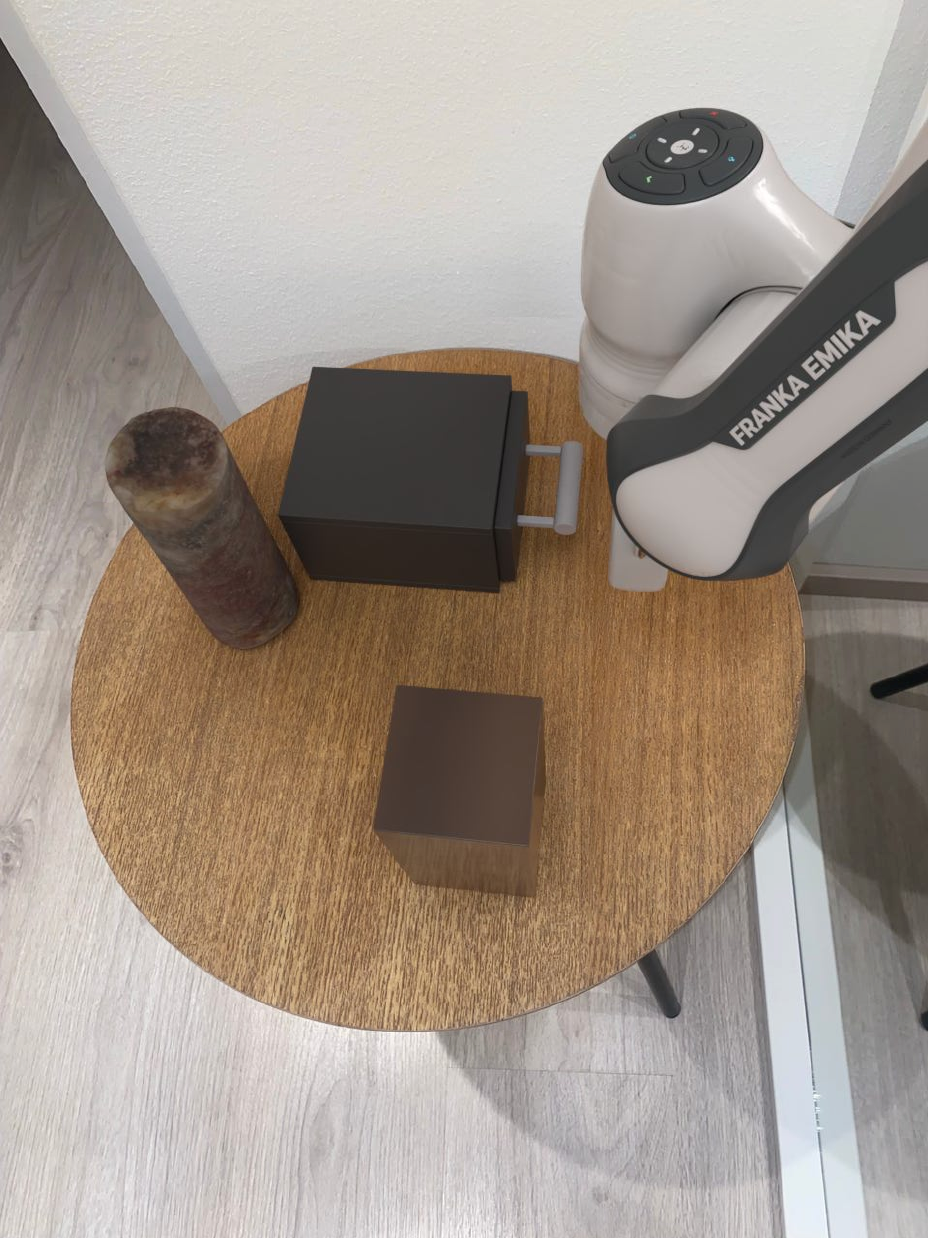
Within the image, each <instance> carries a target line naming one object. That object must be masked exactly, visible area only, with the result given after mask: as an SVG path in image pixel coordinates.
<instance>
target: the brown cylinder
mask: <svg viewBox="0 0 928 1238" xmlns="http://www.w3.org/2000/svg"><path fill="white" fill-rule="evenodd" d="M106 451H107V452H106V454H105V460H104V469H105V470H104V472H105V476H106V481H107V484H108V487H109V489H110V490H111V492H112V494H113V495H114V497H115V498H116V500H117V501H118V502H119V503H120V505H121V507H122V509H123V510H124V512H125V513H126V515H127V516H128V518H129V519H130V520H131V522H132V523H133V524H134V526H135V527H136V528H137V530H138V532H139V533H140V534H141V535H142V537H143V538H144V540H145V541H146V543H147V544H148V546H149V547H150V548H151V550H152V551H153V553H154V554H155V556H156V557H157V558H158V560H159V561H160V563H161V564H162V565H163V567H164V568H165V569H166V571H167V572H168V574H169V575H170V577H171V578H172V580H173V581H174V582H175V584H176V585H177V587H178V589H179V590H180V591H181V593H182V594H183V596H184V597H185V599H186V601H187V602H188V603H189V604H190V606H191V607H192V609H193V610H194V612H195V614H196V615H197V616H198V618H199V619H200V621H201V622H202V624H203V625H204V626H205V627H206V629H207V630H208V631H209V633H210V634H211V636H213V637H214V638H215V639H216V640H217V641H218V642H220V643H222V644H223V645H225V646H227V647H230V648H232V649H242V650H249V649H253V648H254V647H259V646H262V645H264V644H266V643H268V641H270V640H271V639H272V638H274V637H276V636H277V635H279V634H280V633H281V632H282V631H284V630H285V629H286V628H287V627H288V626H289V625H290V624H291V623H292V621H293V620H294V618H295V616H296V615H297V610H298V607H299V591H298V586H297V583H296V580H295V578H294V576H293V574H292V572H291V570H290V568H289V566H288V563H287V561H286V559H285V557H284V554H283V553H282V551H281V549H280V548H279V545H278V543H277V542H276V540H275V538H274V536H273V534H272V532H271V530H270V528H269V526H268V524H267V522H266V520H265V518H264V517H263V514H262V512H261V510H260V508H259V505H258V504H257V502H256V500H255V498H254V495H253V494H252V492H251V490H250V488H249V486H248V483H247V481H246V480H245V478H244V476H243V474H242V472H241V470H240V468H239V465H238V463H237V461H236V459H235V458H234V455H233V453H232V451H231V449H230V446H229V445H228V442H227V441H226V439H225V437H224V435H223V434H222V432H221V430H220V429H219V428H218V426H217V425H216V423H214V422H213V421H212V420H210V419H209V418H207V417H206V416H203V415H201V414H200V413H198V412H196V411H194V410H191V409H189V408H184V407H180V406H169V407H164V408H156V409H152V410H149V411H145V412H142V413H140V414H137V415H136V416H133V417H130V419H129V420H128V422H127V423H126V424H124V426H122V427H121V429H119V431H118V432H117V433H116V434H115V436H114V437H113V438H112V440H111V441H110V442H109V446H108V447H107V450H106Z"/></svg>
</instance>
